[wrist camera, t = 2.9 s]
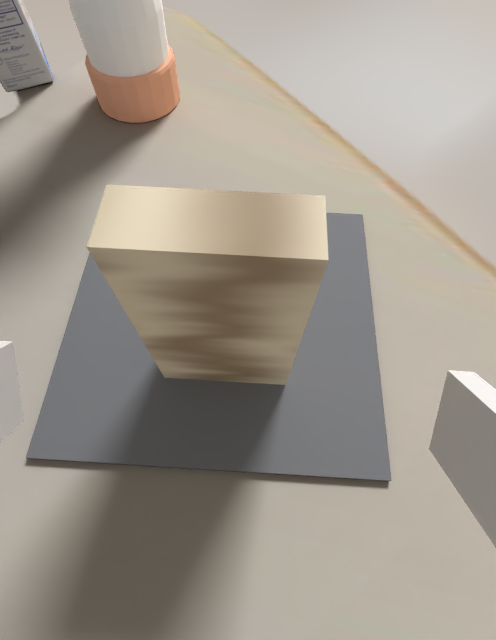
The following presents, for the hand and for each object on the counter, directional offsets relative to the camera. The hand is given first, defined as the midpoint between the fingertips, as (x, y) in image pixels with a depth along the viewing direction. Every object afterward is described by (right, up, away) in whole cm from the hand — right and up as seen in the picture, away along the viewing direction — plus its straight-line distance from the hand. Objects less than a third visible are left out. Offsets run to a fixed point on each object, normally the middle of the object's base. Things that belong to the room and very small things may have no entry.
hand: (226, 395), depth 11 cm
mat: (-1, +3, +12) cm, 12 cm away
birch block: (-1, 0, +11) cm, 11 cm away
